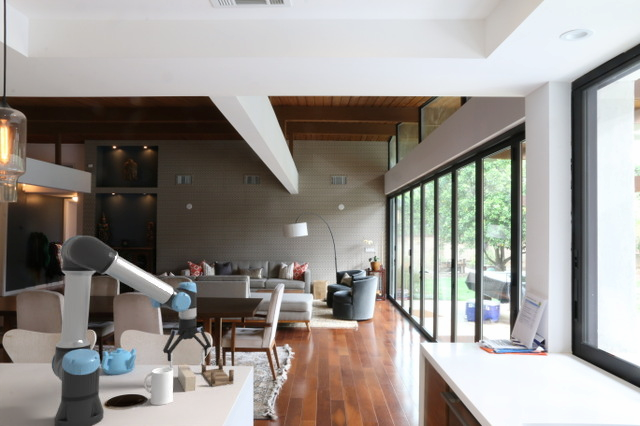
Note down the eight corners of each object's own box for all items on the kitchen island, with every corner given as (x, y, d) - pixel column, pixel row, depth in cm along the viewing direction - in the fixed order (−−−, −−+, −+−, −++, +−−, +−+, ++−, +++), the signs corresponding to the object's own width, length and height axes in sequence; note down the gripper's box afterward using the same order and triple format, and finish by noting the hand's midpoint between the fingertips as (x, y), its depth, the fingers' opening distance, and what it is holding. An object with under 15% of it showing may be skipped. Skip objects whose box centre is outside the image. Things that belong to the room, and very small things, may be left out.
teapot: (102, 368, 218) (103, 346, 218) (135, 365, 223) (136, 343, 224) (100, 377, 204) (100, 353, 204) (135, 374, 209) (136, 350, 210)
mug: (138, 403, 172) (138, 371, 173) (151, 395, 181) (152, 365, 181) (165, 406, 170) (165, 374, 170) (177, 398, 178) (178, 367, 178)
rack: (234, 383, 196) (234, 370, 196) (211, 387, 191) (211, 374, 192) (221, 370, 216) (222, 358, 216) (200, 372, 211) (201, 361, 211)
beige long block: (195, 390, 187) (195, 376, 188) (185, 392, 186) (185, 377, 186) (186, 377, 205) (187, 364, 206) (177, 378, 203) (178, 365, 204)
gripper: (213, 313, 206) (213, 360, 205) (156, 318, 195) (156, 367, 194) (217, 316, 199) (217, 364, 198) (158, 321, 188) (158, 372, 187)
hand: (187, 366), depth 196 cm, fingers open, 13 cm apart
